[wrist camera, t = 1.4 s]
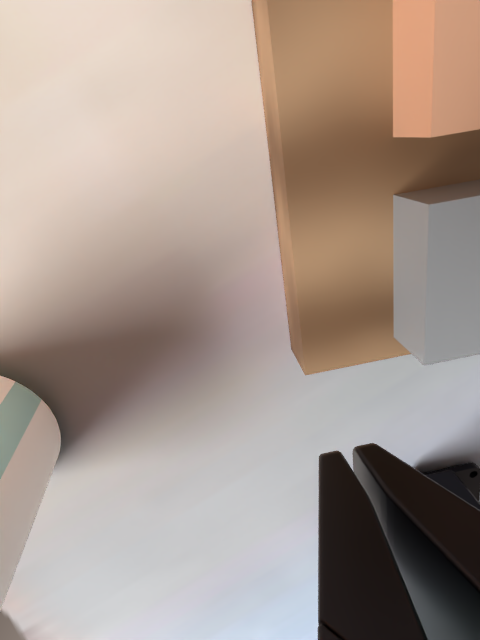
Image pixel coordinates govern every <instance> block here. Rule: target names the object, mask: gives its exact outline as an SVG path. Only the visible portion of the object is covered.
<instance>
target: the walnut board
mask: <svg viewBox="0 0 480 640" xmlns="http://www.w3.org/2000/svg"><path fill="white" fill-rule="evenodd" d="M252 8H253V17H254V26H255V35H256V43H257V52H258V61H259V70H260V78H261V87H262V96H263V105H264V113H265V122H266V131H267V140H268V148H269V157H270V166H271V175H272V183H273V192H274V201H275V210H276V218H277V227H278V236H279V244H280V253H281V262H282V271H283V279H284V288H285V297H286V306H287V314H288V323H289V332H290V341H291V349H292V351H293V353H294V355H295V357H296V359H297V360H298V362H299V364H300V366H301V368H302V370H303V372H304V374H305V375H309V374H314V373H319V372H324V371H329V370H334V369H339V368H343V367H348V366H353V365H358V364H363V363H368V362H373V361H378V360H383V359H388V358H393V357H398V356H403V355H407V354H411V353H410V352H409V351H408V350H407V349H406V348H405V347H404V346H403V345H402V344H400V343H399V342H398V341H397V340H396V339H395V338H394V283H393V195H395V194H401V193H407V192H412V191H418V190H423V189H429V188H434V187H440V186H446V185H451V184H457V183H462V182H468V181H473V180H479V179H480V129H478V130H472V131H466V132H461V133H455V134H449V135H443V136H437V137H431V138H421V137H393V0H252Z"/></svg>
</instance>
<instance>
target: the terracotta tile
mask: <svg viewBox="0 0 480 640" xmlns="http://www.w3.org/2000/svg"><path fill="white" fill-rule="evenodd" d="M478 129H480V0H393V137H421V138H431V137H437V136H443V135H449V134H455V133H461V132H466V131H472V130H478Z"/></svg>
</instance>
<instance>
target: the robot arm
mask: <svg viewBox="0 0 480 640" xmlns="http://www.w3.org/2000/svg"><path fill="white" fill-rule="evenodd" d="M353 469H354V472H353V471H352V469H351V467H350V466H349V464H348V463H347V461H346V459H345V458H344V456H343V455H342V453H341V452H339V451H333V452H328V453H324V454H321V455H320V456H319V550H318V623H319V626H318V640H480V502H479V492H480V468H479V467H478V466H477V465H476V464H475V463H468V464H464V465H459V466H455V467H450V468H446V469H441V470H437V471H432V472H428V473H423V474H422V473H421V472H419V471H418V470H416V469H414V468H413V467H411V466H410V465H408V464H407V463H405V462H403V461H402V460H400V459H399V458H397V457H396V456H394V455H392V454H391V453H389V452H388V451H386V450H385V449H383V448H381V447H380V446H378V445H377V444H374V443H370V444H366V445H361V446H357V447H355V448H354V449H353Z"/></svg>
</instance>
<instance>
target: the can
mask: <svg viewBox="0 0 480 640" xmlns="http://www.w3.org/2000/svg"><path fill="white" fill-rule="evenodd" d="M60 448H61V434H60V429H59V426H58V423H57V420H56V418H55V416H54V415H53V413H52V411H51V410H50V408H49V407H48V406H47V405H46V403H45V402H44V401H43V400H42V399H41V398H40V397H38V396H37V395H36V394H35V393H34V392H32V391H31V390H30V389H28V388H26V387H25V386H23V385H21V384H19V383H17V382H16V381H13V380H11V379H8V378H6V377H3V376H0V611H1V608H2V605H3V603H4V600H5V597H6V595H7V592H8V589H9V587H10V584H11V581H12V579H13V576H14V573H15V571H16V568H17V565H18V563H19V560H20V557H21V555H22V552H23V549H24V547H25V544H26V541H27V539H28V536H29V533H30V531H31V528H32V525H33V523H34V520H35V517H36V515H37V512H38V509H39V507H40V504H41V501H42V499H43V496H44V493H45V491H46V488H47V485H48V483H49V480H50V477H51V475H52V472H53V469H54V467H55V464H56V461H57V459H58V456H59V453H60Z"/></svg>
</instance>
